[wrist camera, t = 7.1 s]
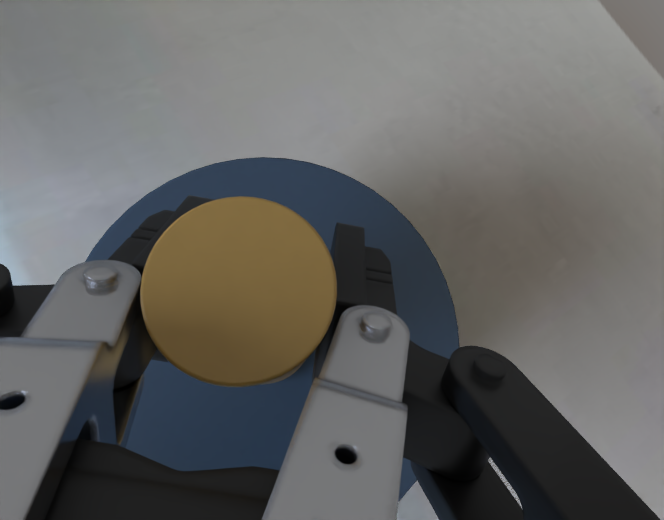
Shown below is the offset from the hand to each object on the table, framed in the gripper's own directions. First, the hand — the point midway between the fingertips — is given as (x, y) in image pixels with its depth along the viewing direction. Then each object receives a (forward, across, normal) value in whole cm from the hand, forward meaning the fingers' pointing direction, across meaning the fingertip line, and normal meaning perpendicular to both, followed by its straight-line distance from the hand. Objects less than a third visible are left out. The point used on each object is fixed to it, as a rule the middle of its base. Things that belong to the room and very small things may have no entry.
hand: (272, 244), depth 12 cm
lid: (+2, 0, +5) cm, 5 cm away
